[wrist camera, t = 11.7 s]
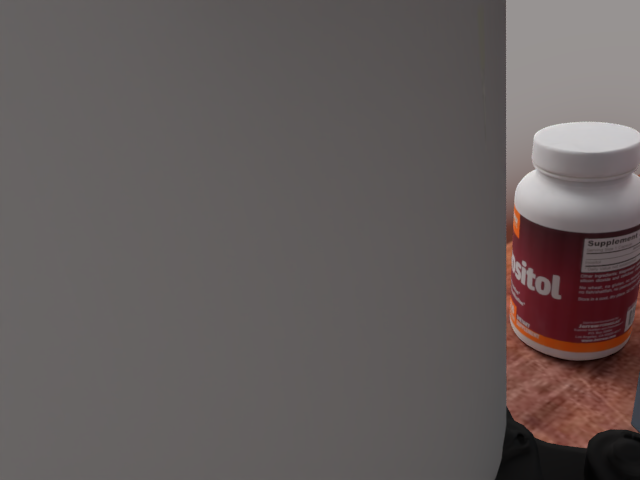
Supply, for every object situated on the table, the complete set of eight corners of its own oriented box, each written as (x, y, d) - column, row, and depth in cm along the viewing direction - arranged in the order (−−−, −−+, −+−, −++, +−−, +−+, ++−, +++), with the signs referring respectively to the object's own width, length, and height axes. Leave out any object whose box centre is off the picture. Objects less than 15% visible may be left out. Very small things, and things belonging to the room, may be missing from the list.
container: (386, 522, 23) (310, -83, 14) (598, 843, 14) (742, -192, 5) (113, 656, 19) (-203, -15, 11) (176, 1170, 11) (-1052, -18, 2)
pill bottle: (489, 310, 36) (493, 127, 31) (587, 290, 36) (606, 109, 31) (543, 376, 30) (559, 166, 25) (658, 352, 31) (694, 143, 26)
